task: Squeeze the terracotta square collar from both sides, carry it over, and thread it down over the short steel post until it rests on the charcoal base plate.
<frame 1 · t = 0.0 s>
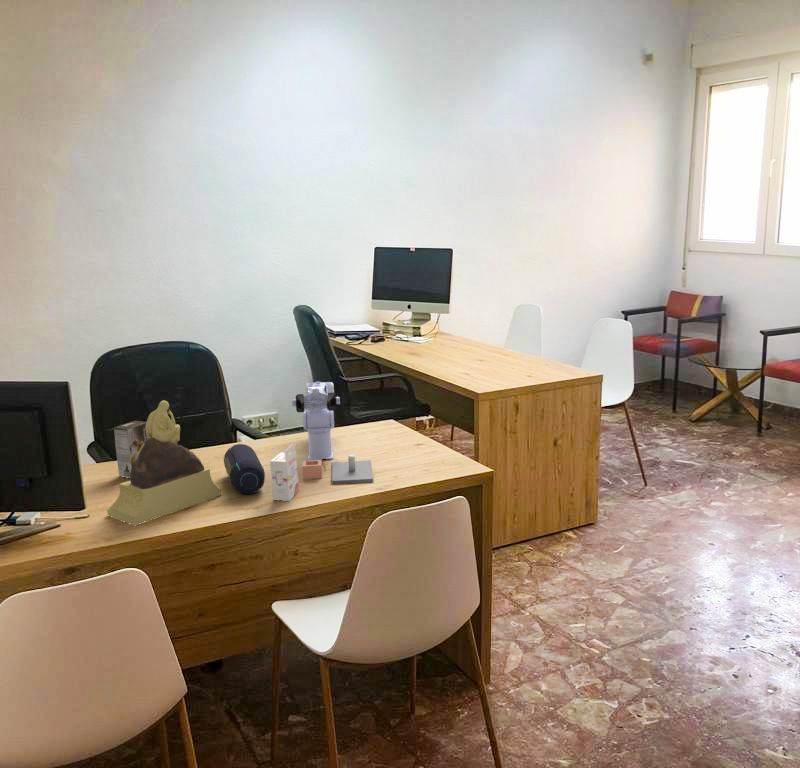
hand: (315, 405, 247), 22 cm above the table, tool horizontal, fingers open, 7 cm apart
seated figure statue: (166, 506, 231), on the table
coffee box: (137, 474, 259), on the table
ink cartridge box: (286, 496, 235), on the table
portable speaker: (245, 484, 247), on the table
collar: (312, 475, 252), on the table
post base: (352, 473, 252), on the table
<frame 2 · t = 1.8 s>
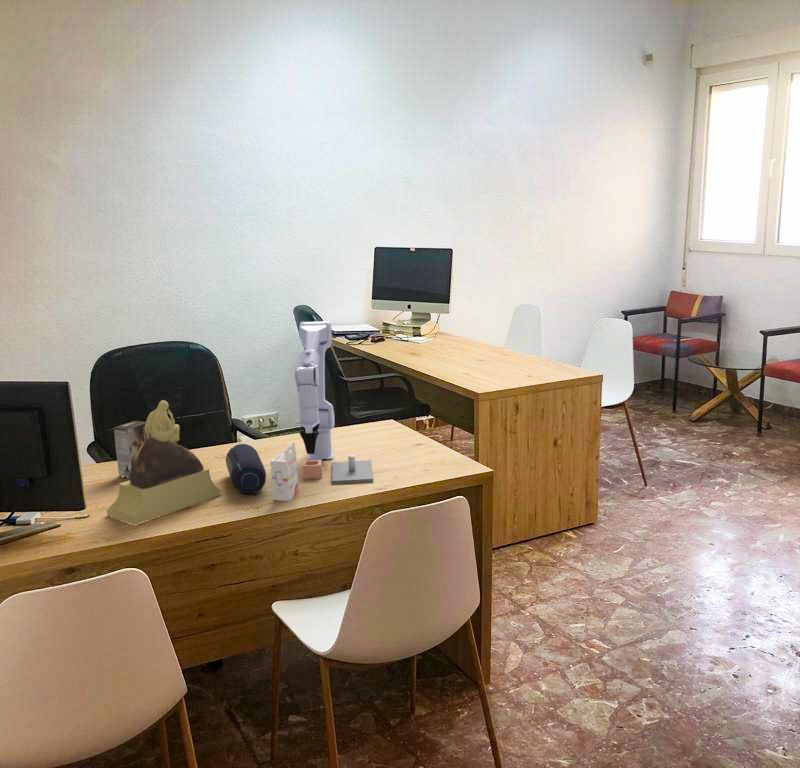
hand: (311, 450, 250), 8 cm above the table, tool pointing down, fingers open, 7 cm apart
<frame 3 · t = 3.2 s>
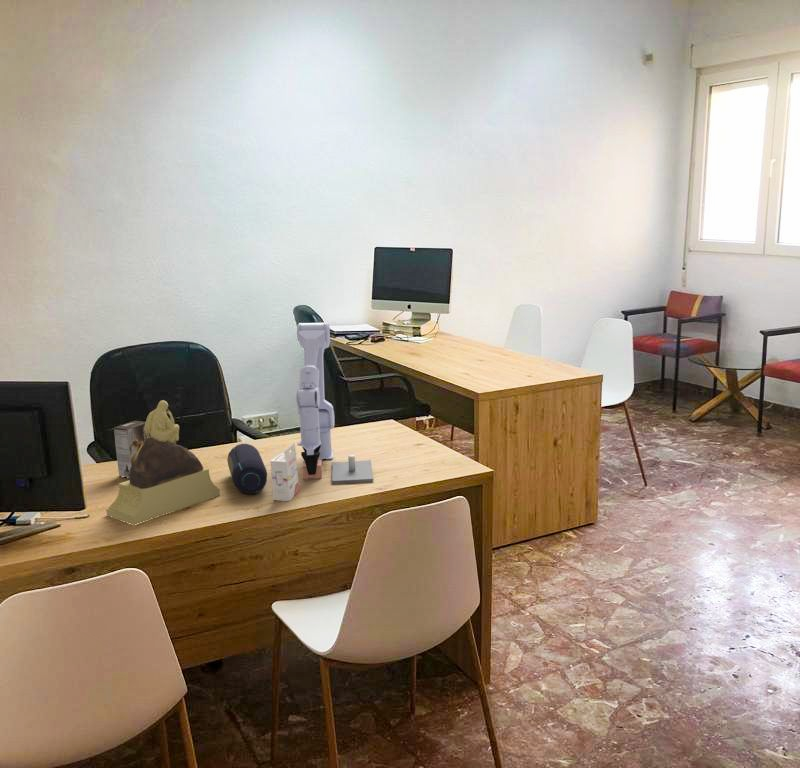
hand: (312, 471, 251), 1 cm above the table, tool pointing down, fingers closed on collar, 6 cm apart
collar: (312, 475, 252), on the table, touching gripper
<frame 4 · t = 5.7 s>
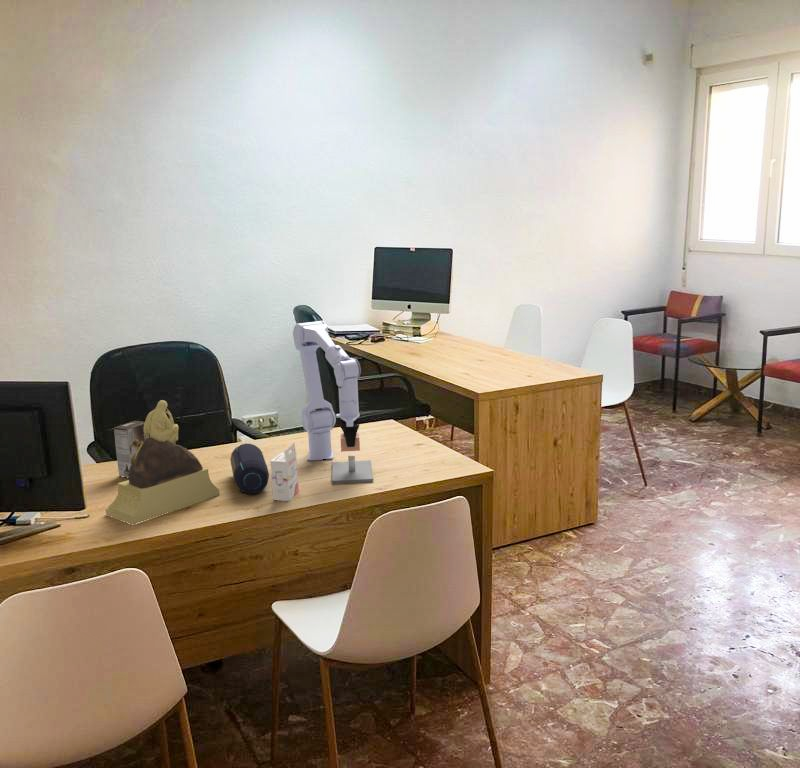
hand: (350, 443, 250), 9 cm above the table, tool pointing down, fingers closed on collar, 6 cm apart
collar: (350, 448, 251), point 8 cm above the table, touching gripper
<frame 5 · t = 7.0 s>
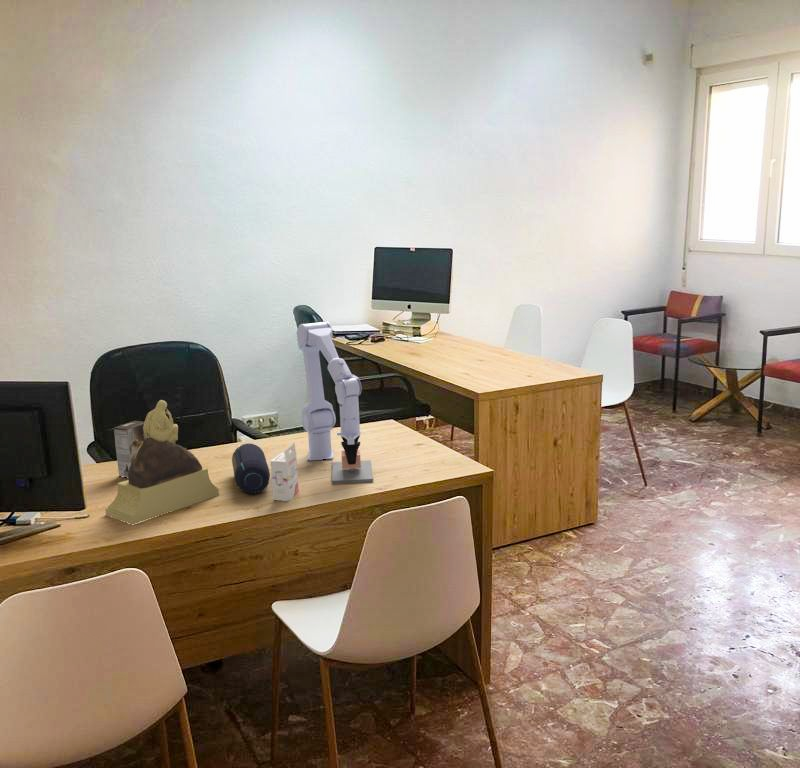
hand: (351, 461, 252), 4 cm above the table, tool pointing down, fingers closed on collar, 6 cm apart
collar: (351, 465, 252), point 3 cm above the table, touching gripper
when the fingers open (4 cm above the table, at t = 8.3 s): collar drops 1 cm, resting on post base.
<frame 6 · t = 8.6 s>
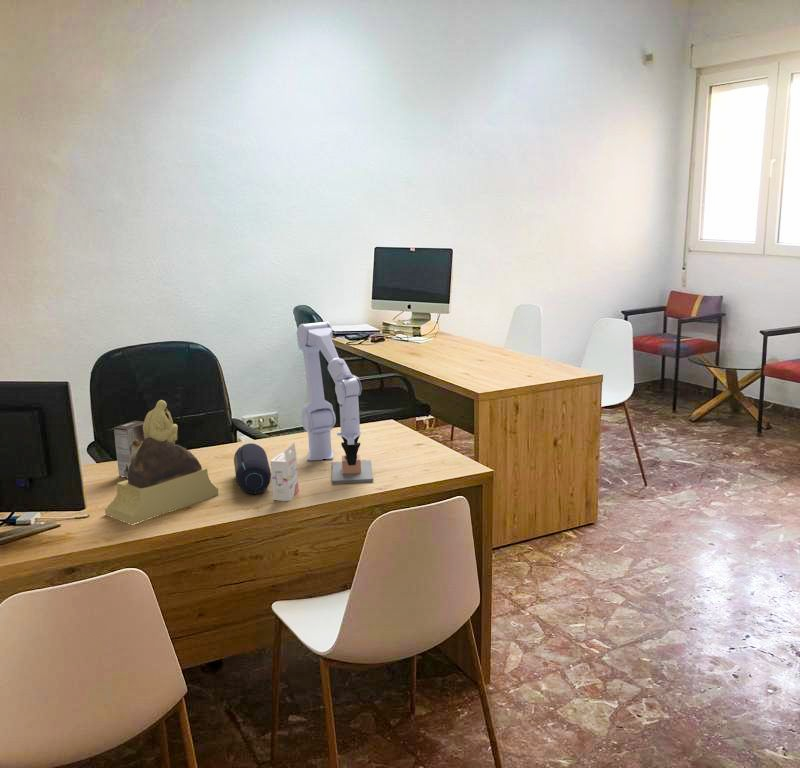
hand: (351, 461, 252), 4 cm above the table, tool pointing down, fingers open, 7 cm apart
collar: (351, 470, 252), point 1 cm above the table, touching post base
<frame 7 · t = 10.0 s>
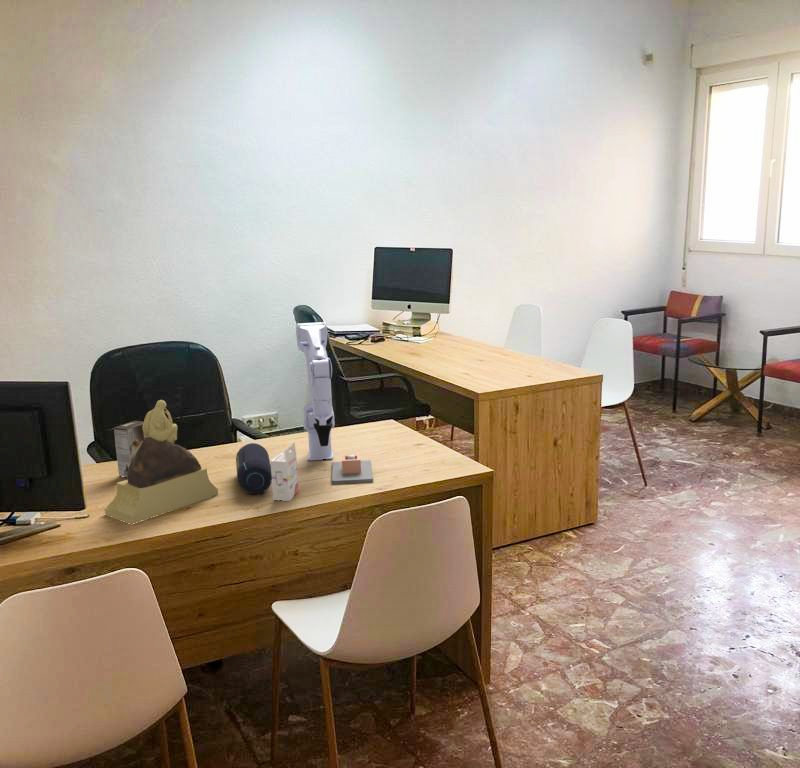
hand: (324, 442, 253), 9 cm above the table, tool pointing down, fingers open, 7 cm apart
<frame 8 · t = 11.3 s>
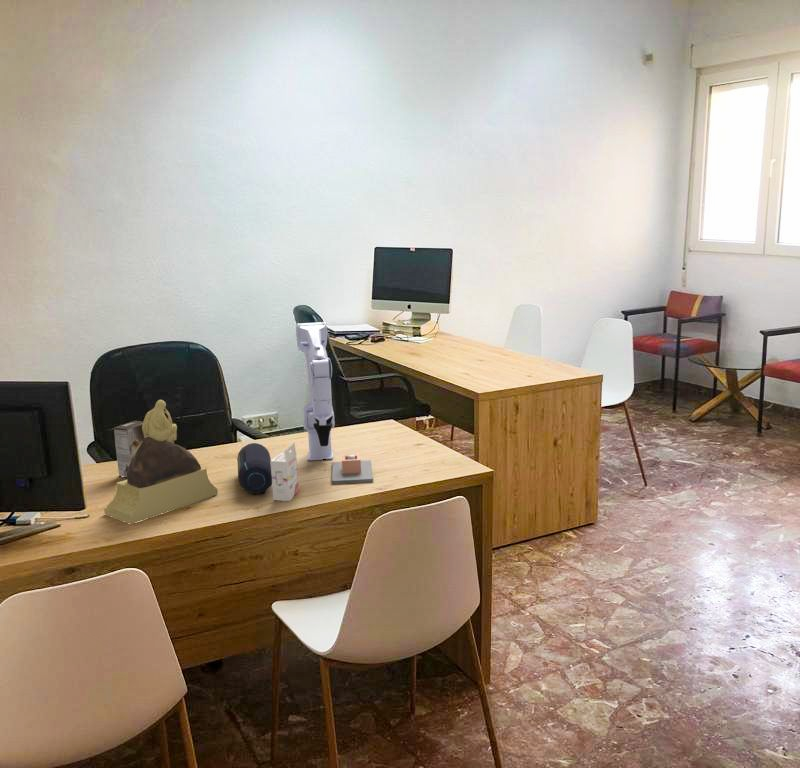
hand: (324, 442, 253), 9 cm above the table, tool pointing down, fingers open, 7 cm apart
at the end: collar 0.2 cm from the post base (horizontally); collar point 1.0 cm above the table; the gripper is holding nothing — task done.
